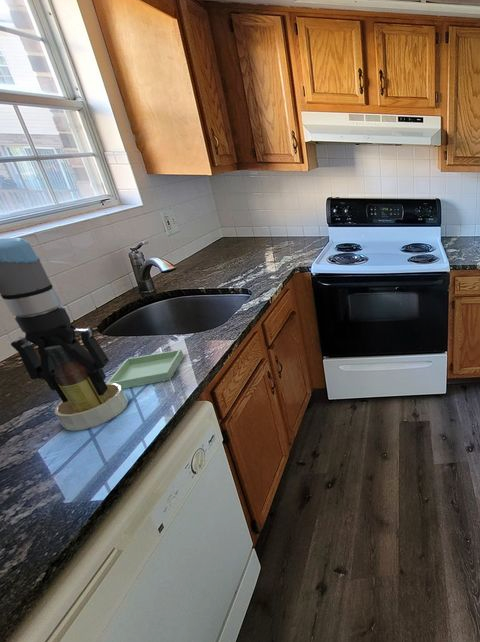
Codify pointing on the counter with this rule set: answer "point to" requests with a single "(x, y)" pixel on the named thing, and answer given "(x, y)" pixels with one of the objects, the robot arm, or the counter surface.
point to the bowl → (93, 410)
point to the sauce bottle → (74, 380)
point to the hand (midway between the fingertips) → (86, 395)
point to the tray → (147, 369)
